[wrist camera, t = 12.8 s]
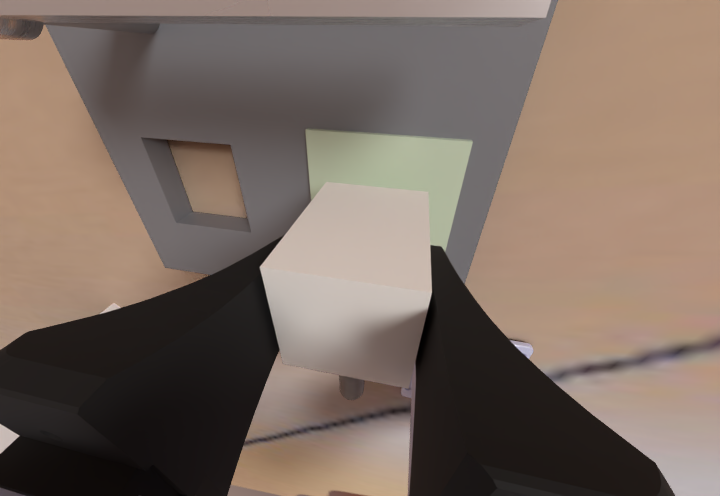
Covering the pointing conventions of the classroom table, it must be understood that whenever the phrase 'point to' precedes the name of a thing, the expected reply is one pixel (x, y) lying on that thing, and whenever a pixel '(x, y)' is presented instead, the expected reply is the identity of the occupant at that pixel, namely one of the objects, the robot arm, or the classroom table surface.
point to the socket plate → (304, 120)
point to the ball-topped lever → (267, 13)
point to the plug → (353, 285)
